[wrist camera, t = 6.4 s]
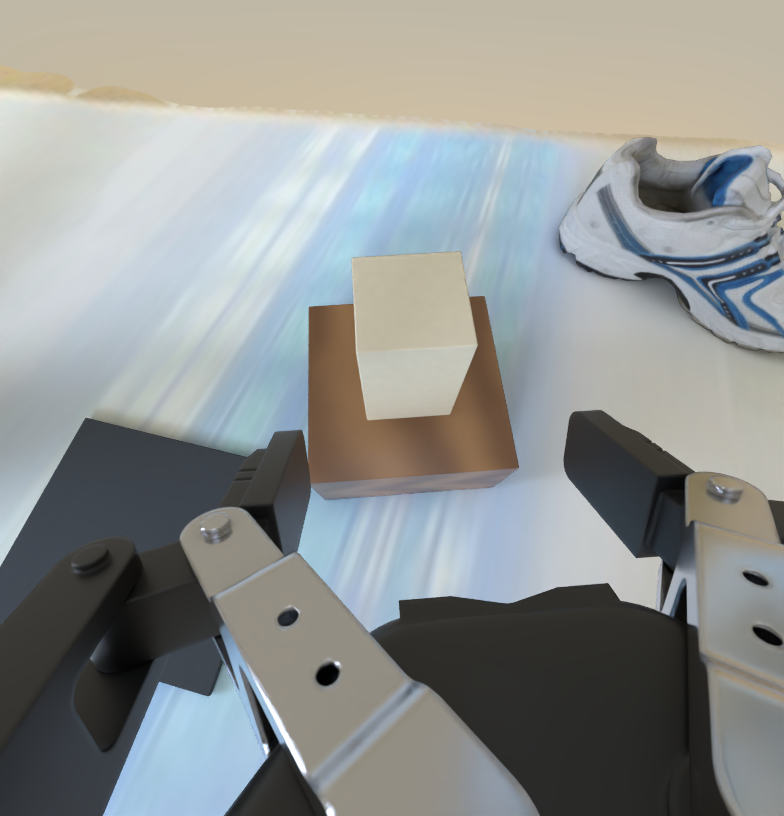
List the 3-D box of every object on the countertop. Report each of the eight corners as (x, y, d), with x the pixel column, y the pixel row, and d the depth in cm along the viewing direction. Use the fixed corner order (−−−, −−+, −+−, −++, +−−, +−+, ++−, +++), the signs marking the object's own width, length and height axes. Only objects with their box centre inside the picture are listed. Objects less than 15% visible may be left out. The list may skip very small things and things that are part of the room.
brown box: (324, 500, 27) (307, 484, 22) (322, 351, 32) (308, 306, 26) (493, 487, 28) (519, 468, 22) (468, 341, 32) (484, 295, 27)
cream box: (367, 420, 23) (355, 353, 16) (362, 347, 25) (351, 256, 18) (450, 415, 23) (478, 345, 16) (440, 342, 25) (461, 250, 18)
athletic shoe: (820, 380, 30) (1042, 240, 21) (536, 284, 34) (609, 128, 25) (799, 306, 36) (965, 167, 26) (555, 230, 40) (622, 85, 30)
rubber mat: (-27, 622, 24) (-33, 623, 24) (89, 419, 29) (85, 417, 29) (211, 694, 23) (208, 696, 23) (289, 468, 28) (288, 467, 28)
